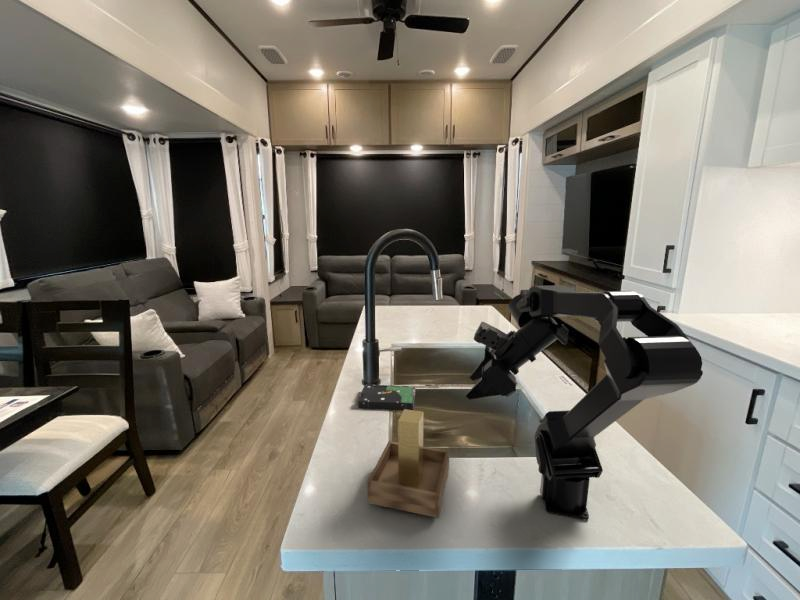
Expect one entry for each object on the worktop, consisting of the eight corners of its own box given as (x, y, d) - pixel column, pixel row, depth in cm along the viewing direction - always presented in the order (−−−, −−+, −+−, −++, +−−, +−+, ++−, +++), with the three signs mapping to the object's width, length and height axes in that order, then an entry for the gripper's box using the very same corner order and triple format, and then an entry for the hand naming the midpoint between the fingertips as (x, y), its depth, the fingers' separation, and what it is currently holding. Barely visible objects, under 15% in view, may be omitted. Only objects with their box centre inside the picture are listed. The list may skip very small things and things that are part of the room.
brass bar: (422, 472, 65) (423, 411, 63) (418, 487, 61) (418, 423, 59) (404, 468, 66) (404, 409, 64) (398, 483, 62) (398, 420, 60)
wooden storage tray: (448, 474, 68) (449, 450, 67) (438, 523, 57) (439, 495, 56) (388, 463, 71) (388, 441, 70) (367, 508, 60) (367, 481, 59)
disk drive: (357, 411, 93) (414, 412, 92) (357, 401, 93) (414, 402, 92) (364, 393, 103) (415, 394, 102) (364, 384, 103) (415, 385, 102)
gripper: (499, 301, 78) (448, 345, 83) (499, 322, 61) (434, 376, 66) (535, 338, 78) (481, 380, 83) (545, 370, 60) (476, 421, 65)
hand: (469, 387), depth 74 cm, fingers open, 9 cm apart
